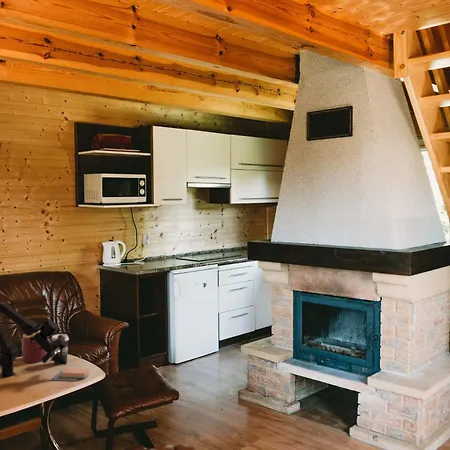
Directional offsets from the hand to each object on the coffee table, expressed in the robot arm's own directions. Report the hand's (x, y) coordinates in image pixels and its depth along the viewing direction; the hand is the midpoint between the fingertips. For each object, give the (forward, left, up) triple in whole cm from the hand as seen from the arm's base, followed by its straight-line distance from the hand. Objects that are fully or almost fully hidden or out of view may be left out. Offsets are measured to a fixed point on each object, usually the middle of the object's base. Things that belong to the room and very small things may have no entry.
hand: (66, 364), depth 272 cm
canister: (-37, -1, -7) cm, 38 cm away
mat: (+1, +1, -6) cm, 7 cm away
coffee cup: (-21, +7, -7) cm, 23 cm away
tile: (-1, -1, -5) cm, 5 cm away
